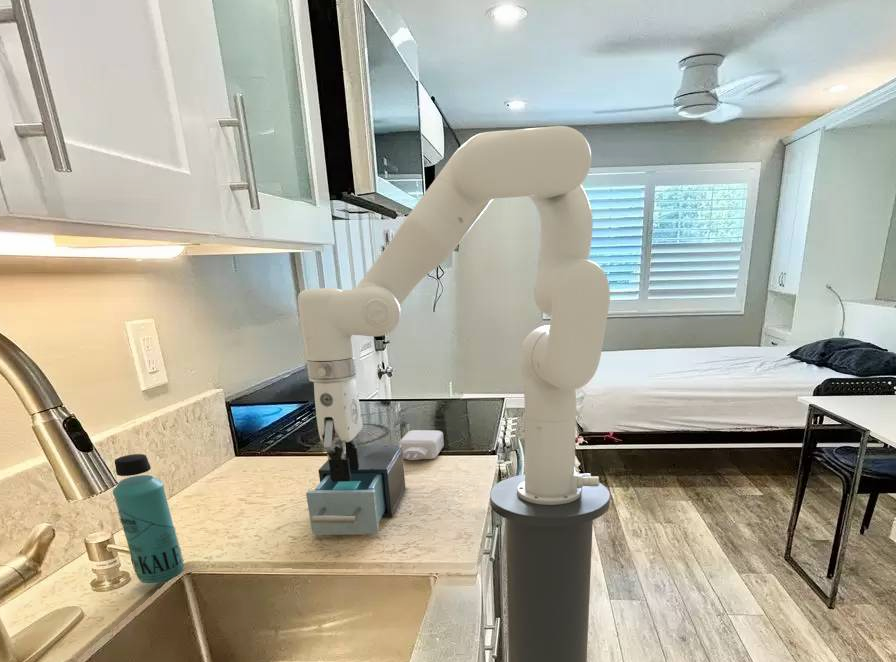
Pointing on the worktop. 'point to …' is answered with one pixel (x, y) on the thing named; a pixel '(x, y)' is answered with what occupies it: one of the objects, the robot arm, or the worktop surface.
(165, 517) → the beverage bottle
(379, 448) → the drawer cabinet
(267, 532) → the worktop surface
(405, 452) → the charger
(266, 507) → the worktop surface
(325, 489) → the light blue drawer
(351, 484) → the teal rounded cube
